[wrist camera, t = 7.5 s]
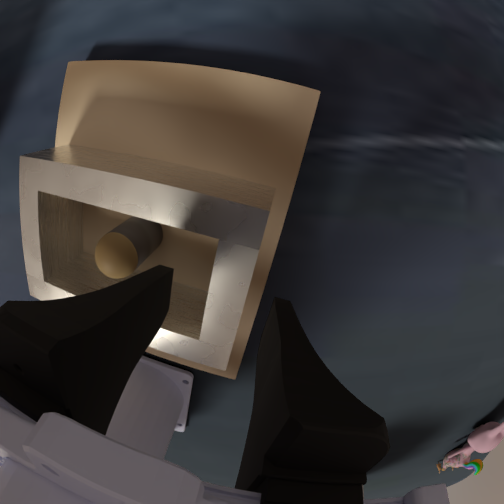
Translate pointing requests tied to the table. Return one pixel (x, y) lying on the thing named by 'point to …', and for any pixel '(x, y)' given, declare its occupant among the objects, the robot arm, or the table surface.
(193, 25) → the table surface
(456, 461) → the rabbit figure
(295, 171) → the board
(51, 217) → the beige hollow boxy piece
